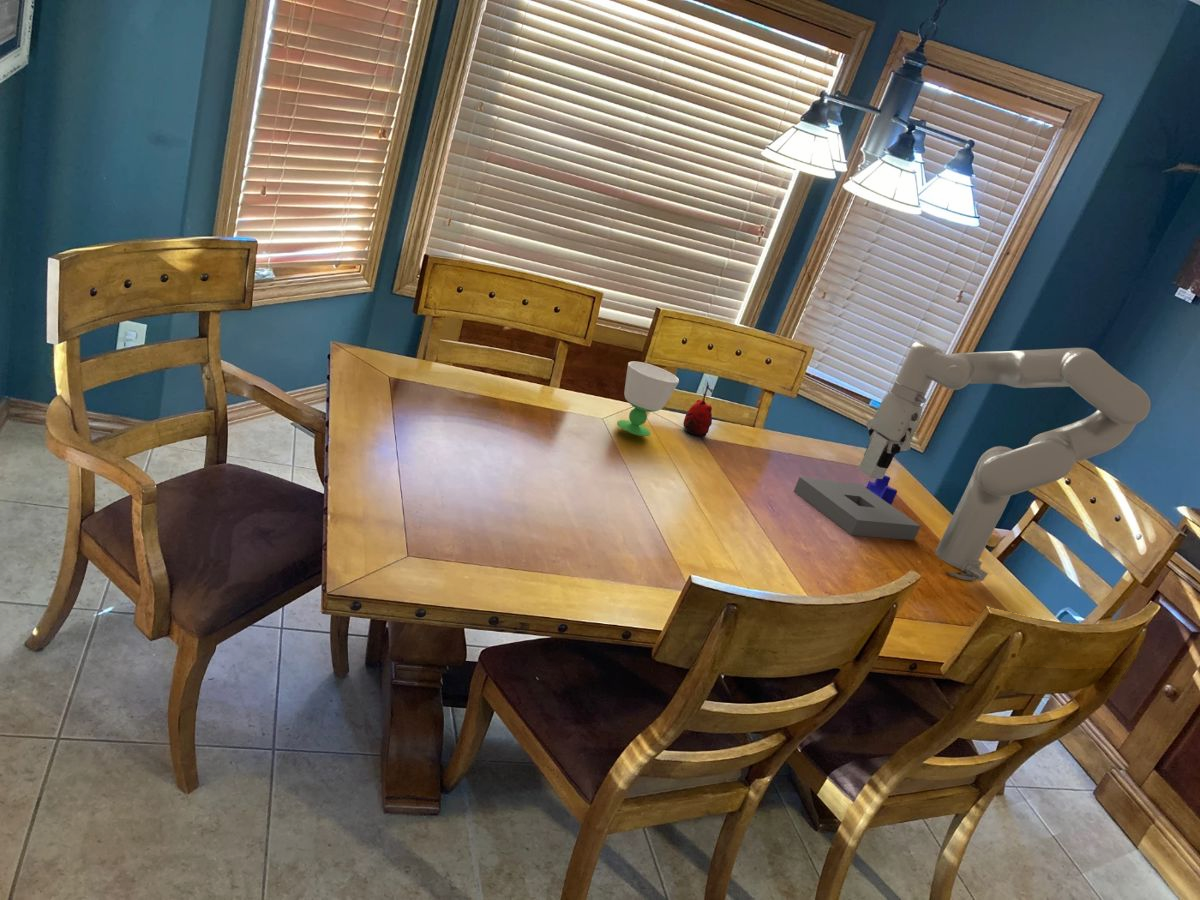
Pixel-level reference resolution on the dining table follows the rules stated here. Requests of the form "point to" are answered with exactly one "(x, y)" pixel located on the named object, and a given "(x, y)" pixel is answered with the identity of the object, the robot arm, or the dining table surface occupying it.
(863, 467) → the metal bar
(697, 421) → the red fruit with stem
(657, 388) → the cup
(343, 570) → the dining table surface
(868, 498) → the well block
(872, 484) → the blue stepped block
